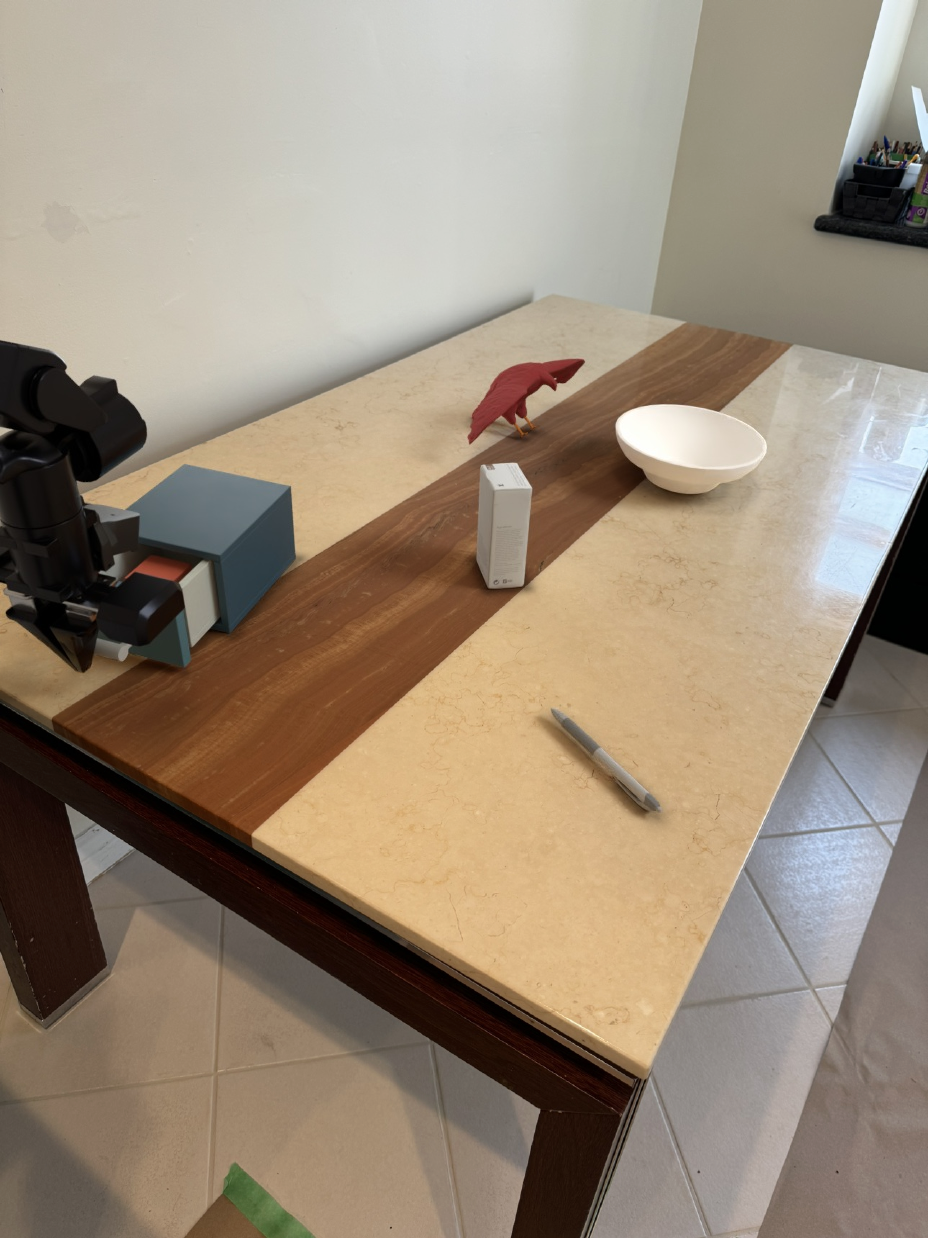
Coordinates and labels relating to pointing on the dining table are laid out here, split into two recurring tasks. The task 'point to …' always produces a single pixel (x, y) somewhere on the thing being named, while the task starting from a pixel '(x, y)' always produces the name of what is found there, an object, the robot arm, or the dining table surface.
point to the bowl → (689, 446)
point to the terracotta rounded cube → (163, 568)
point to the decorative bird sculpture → (519, 392)
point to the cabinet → (223, 531)
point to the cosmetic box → (503, 524)
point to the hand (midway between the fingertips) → (83, 669)
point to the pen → (608, 763)
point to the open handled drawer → (186, 624)
